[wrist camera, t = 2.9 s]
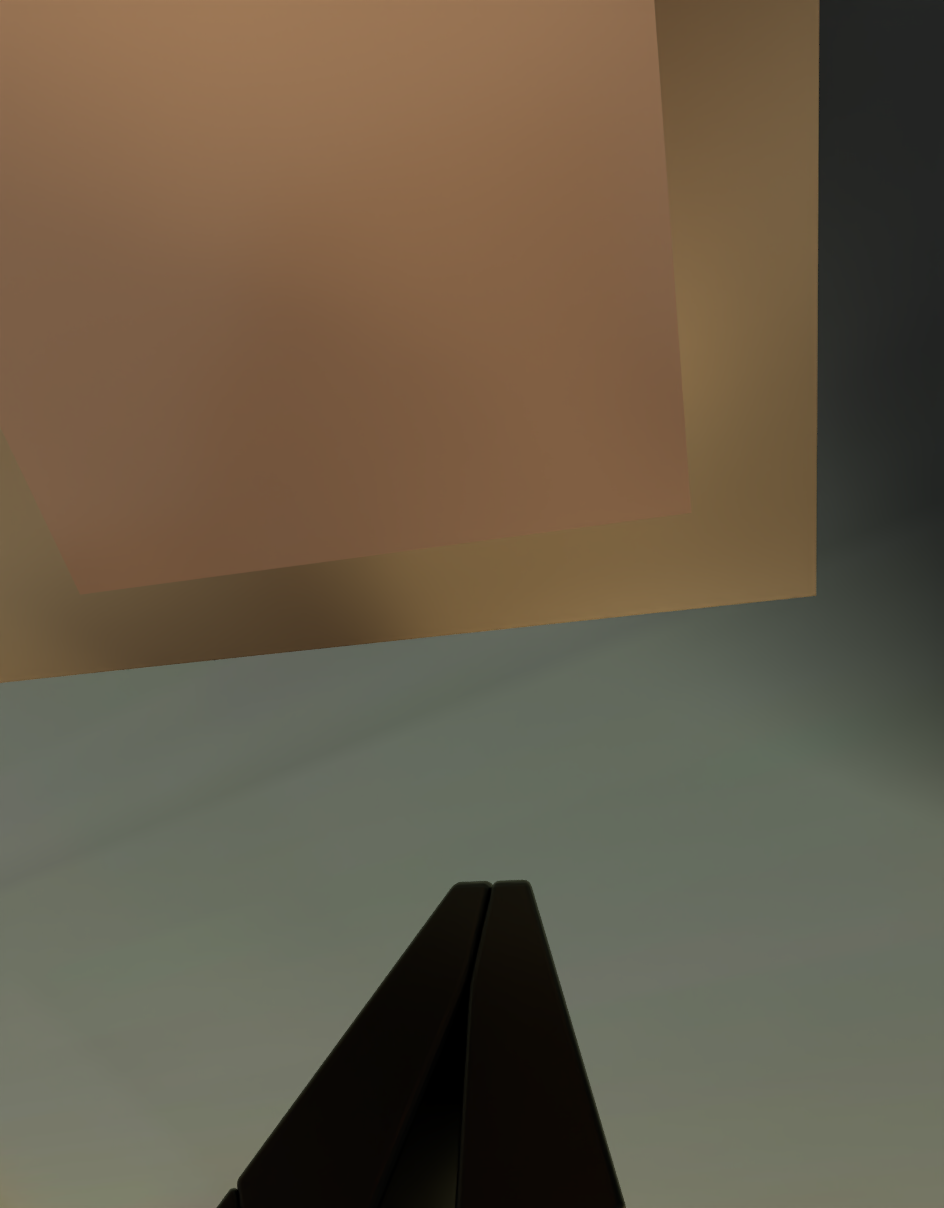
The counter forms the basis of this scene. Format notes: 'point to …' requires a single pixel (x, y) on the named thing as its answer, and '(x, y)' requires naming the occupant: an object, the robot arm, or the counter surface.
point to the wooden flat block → (582, 555)
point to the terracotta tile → (333, 277)
